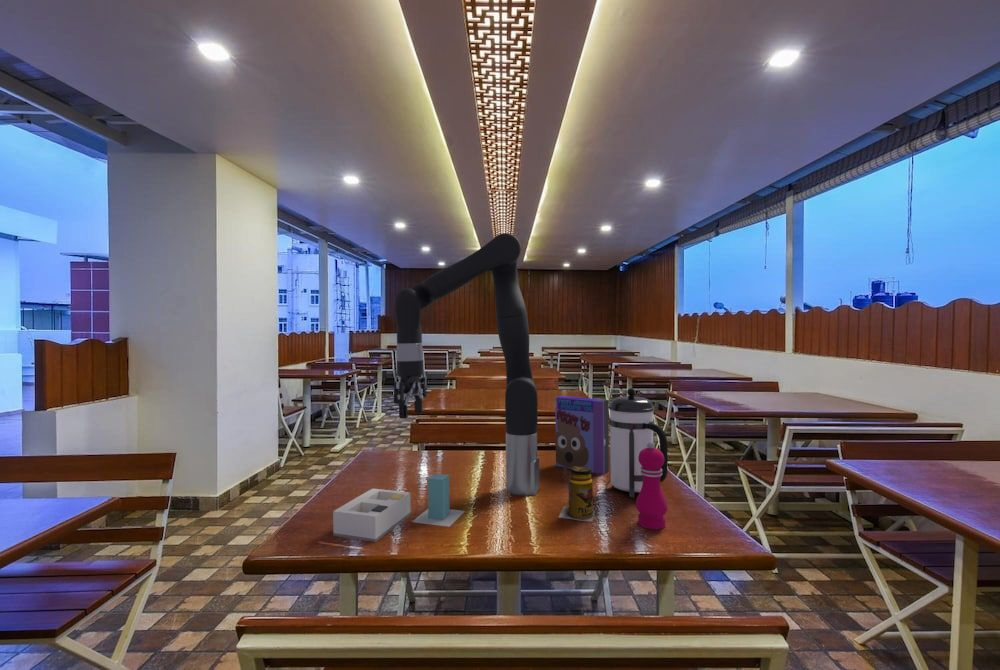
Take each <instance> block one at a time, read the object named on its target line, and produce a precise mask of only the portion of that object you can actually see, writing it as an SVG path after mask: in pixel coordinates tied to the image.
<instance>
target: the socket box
mask: <svg viewBox="0 0 1000 670" xmlns="http://www.w3.org/2000/svg"><path fill="white" fill-rule="evenodd" d="M332 511H333V512H332V514H333V515H332V516H333V517H332V518H333V519H332V521H333V522H332V523H333V525H332V526H333V530H332V531H333V537H339V538H345V539H352V540H360V541H366V542H373V543H377V542H378V541H379V540H380V539H381V538H383V537H384V536H385V535H386V534H388V533H389V532H391V530H392V531H393V529H394V528H396V527H397V526H398V525H400V524H401V523H402V522H403V521H404V520H406V519H407V518H408V517H409V516H411V492H407V491H401V490H400V491H398V490H391V489H382V488H380V489H379V488H370V489H369V490H368V491H366V492H364V493H362V494H360V495H359V496H357V497H355V498H353V499H352V500H350V501H348V502H347V503H344V505H341V506H339V507H338V508H336V509H335V510H332Z"/></svg>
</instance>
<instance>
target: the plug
mask: <svg viewBox="0 0 1000 670" xmlns="http://www.w3.org/2000/svg"><path fill="white" fill-rule="evenodd" d="M450 502H451V501H450V474H445V473H444V474H443V473H433V474H432V475H431V476H429V477H428V478H427V504H428V505H427V509H428V518H429V519H437V520H444V519H445V518H446V517H447V516H448V515H449V514H450Z"/></svg>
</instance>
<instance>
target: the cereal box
mask: <svg viewBox="0 0 1000 670" xmlns="http://www.w3.org/2000/svg"><path fill="white" fill-rule="evenodd" d="M554 403H555V407H554V409H555V411H554V413H555V415H554V416H555V417H554V419H555V467H557V468H561V469H562V468H563V469H568V470H570V469H571V467H573V466H585V467H588V468H590V469H591V474H597V475H602V476H604V475H605V474H607V473H608V472H609V473H610V435H609V418H610V415H609V414H610V410H609V405H610V404H609V403H610V402H609V399H601V398H598V399H597V398H590V397H589V398H588V397H577V396H576V397H574V396H565V395H564V396H563V395H561V396H560V395H559V396H556V397H555V401H554Z"/></svg>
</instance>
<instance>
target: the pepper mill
mask: <svg viewBox="0 0 1000 670" xmlns="http://www.w3.org/2000/svg"><path fill="white" fill-rule="evenodd" d="M647 446H648V448H644V449H642V450H641V451H640V453H639V456H638V460H639V463H640V464H641V465H642V467H641V468H640V469H641V474H642V476H643V485H642V488H641V491H640V492H638V495H637V497H636V501H635V502H636V503H635V507H636V510H637V511H638V513H639V514H638V516H637V523H638V525H639V526H640V527H643V528H645V529H647V530H663V529H664V528H665V527H666V517H665V515H666V513H667V512H668V503H667V500H666V497H665V495H664V493H663V489H662V486H661V482H660V476H662V469H661V467H662V466H663V464H664V455H663V453H662V452H661V451H660V449H658V448H656V443H655V441H654V442H651V441H650V442H648V444H647Z"/></svg>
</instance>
